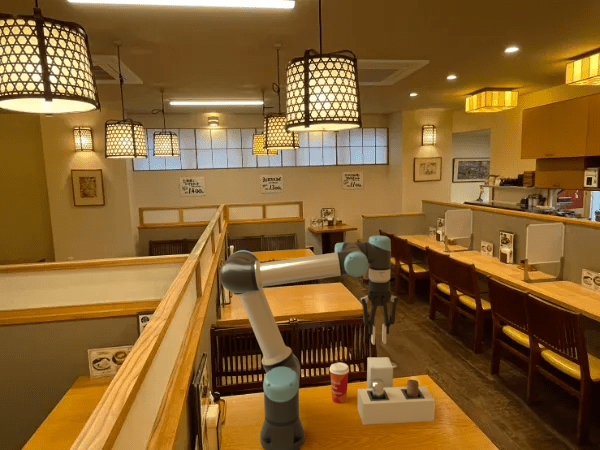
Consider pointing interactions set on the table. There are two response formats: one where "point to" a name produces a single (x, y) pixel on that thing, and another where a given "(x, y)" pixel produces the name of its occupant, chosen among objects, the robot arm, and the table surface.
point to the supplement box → (379, 371)
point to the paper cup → (339, 382)
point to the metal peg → (377, 389)
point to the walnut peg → (412, 388)
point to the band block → (395, 406)
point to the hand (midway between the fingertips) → (378, 342)
